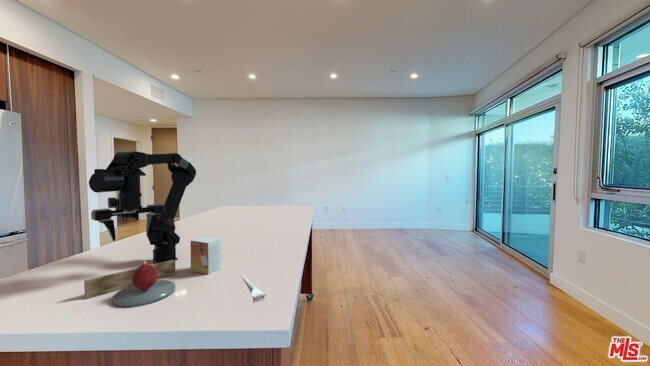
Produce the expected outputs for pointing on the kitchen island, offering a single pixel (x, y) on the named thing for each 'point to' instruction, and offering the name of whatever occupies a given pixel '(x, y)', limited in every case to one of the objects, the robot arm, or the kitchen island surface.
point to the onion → (145, 276)
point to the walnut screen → (122, 280)
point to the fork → (254, 289)
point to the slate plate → (143, 294)
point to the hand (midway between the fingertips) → (131, 237)
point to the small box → (205, 255)
